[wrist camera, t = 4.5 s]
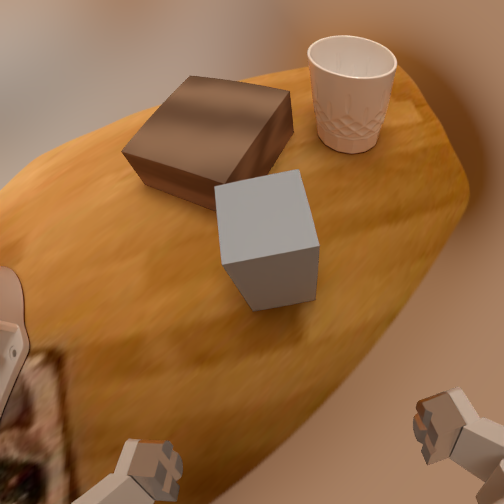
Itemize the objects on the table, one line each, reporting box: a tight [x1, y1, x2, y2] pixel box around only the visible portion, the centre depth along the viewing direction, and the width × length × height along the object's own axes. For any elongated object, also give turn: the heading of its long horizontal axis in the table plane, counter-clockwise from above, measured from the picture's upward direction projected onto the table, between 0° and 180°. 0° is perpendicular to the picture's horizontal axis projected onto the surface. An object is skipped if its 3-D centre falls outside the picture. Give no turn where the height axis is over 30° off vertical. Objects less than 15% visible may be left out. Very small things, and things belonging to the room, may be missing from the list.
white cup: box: [307, 36, 397, 154], centre depth 27 cm, size 8×8×10 cm
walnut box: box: [121, 76, 294, 212], centre depth 30 cm, size 12×12×6 cm
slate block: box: [214, 169, 319, 311], centre depth 22 cm, size 5×5×10 cm
